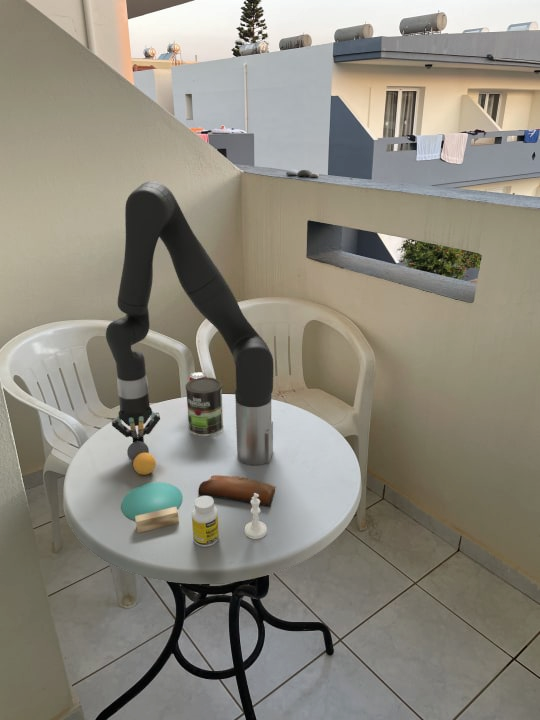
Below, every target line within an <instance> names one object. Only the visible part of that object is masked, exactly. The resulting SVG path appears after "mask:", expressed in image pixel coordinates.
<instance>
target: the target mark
mask: <svg viewBox="0 0 540 720" xmlns="http://www.w3.org/2000/svg"><path fill="white" fill-rule="evenodd" d="M182 502H183V493H182V492H181V490H180V489H179V488H178V487H177V486H176V485H174V484H171V483H167V482H160V481H157V482H156V481H154V482H149V483H148V482H147V483H144V484H141V485H139V486H136V487H135V488H133V489H131V490H129V492H128V493H127V494H126V495H125V496H124V497H123V499H122V501H121V510H122V513H123V514H124V516H126V518H129V520H132V521H135V522H136V519H135V516H138V515H142V514H146V513H151V512H155V511H159V510H164V509H168V508H172V507H177V510H178V509H180V506H181V505H182Z"/></svg>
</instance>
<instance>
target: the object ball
mask: <svg viewBox="0 0 540 720" xmlns="http://www.w3.org/2000/svg"><path fill="white" fill-rule="evenodd" d="M132 462H133V461H132ZM132 464H133V468H134V471H135V472H136V473H137V474H139V475H144V476H145V475H149V474H151V473H152V472H153V471H154V470H155V467H156V458H155V457H154V456H153V454H151V453H150V452H149V453H141V454H139V455H137V456H136V458H135V459H134V462H133V463H132Z"/></svg>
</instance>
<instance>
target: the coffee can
mask: <svg viewBox="0 0 540 720" xmlns="http://www.w3.org/2000/svg"><path fill="white" fill-rule="evenodd" d="M222 387H223V383H222V381H220V380H219V379H217V378H214V377H207V376H206V377H203V378H196V379H193V380H191V381H190V380H189V381H188V382H187V383H186V384H185V390H186V405H187V406H186V407H187V417H188V418H187V419H188V421H187V422H188V431H189V432H190V434H192V435H194V436H196V437H197V436H198V437H210V436H211V437H212V436H214V435H217V434H219V433H220V432H222V430H223V429H224V420H223V419H224V418H223V390H222Z"/></svg>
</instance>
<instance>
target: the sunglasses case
mask: <svg viewBox="0 0 540 720" xmlns="http://www.w3.org/2000/svg"><path fill="white" fill-rule="evenodd" d="M276 488H277V486H274V485H272V484H270V483H266V482H263V481H258V480H253V479H249V478H248V477H244V476H238V475H233V476H228V475H220V474H219V475H218V474H215V475H211V476H210V478H209V479H207V480H205V481H202V482H201V483H200V484H199V487H198V492H197V493H198V495H199V496H210V497H212V498H222V499H223V498H225V499H230V500H234V501H240V502H241V501H242V502H247V503H251V500H252V497H253V496H254V493H256V494H258V495H259V497H257V499H259V500H260V504H259V505H263V506H269V507H271V505H272V502H273V499H274V497H275V494H276V493H275V492H276Z"/></svg>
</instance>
